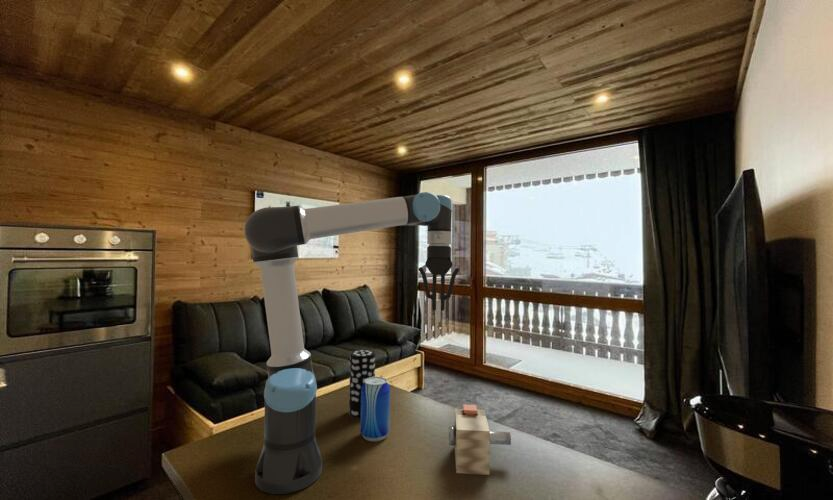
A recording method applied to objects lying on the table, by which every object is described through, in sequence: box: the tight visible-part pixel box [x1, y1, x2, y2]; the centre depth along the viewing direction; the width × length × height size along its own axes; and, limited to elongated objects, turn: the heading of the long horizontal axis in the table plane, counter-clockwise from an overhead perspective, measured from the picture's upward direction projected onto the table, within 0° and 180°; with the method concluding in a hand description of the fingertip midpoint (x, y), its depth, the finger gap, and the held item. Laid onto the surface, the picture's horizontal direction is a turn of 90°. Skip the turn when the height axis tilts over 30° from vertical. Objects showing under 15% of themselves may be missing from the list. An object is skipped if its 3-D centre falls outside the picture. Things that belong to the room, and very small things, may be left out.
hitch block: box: [453, 408, 491, 476], centre depth 93 cm, size 8×12×10 cm, turn 176°
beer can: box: [359, 376, 391, 442], centre depth 105 cm, size 8×8×16 cm
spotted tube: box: [348, 349, 376, 420], centre depth 119 cm, size 8×8×20 cm
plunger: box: [462, 403, 478, 416], centre depth 97 cm, size 4×4×8 cm
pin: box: [448, 425, 512, 447], centre depth 93 cm, size 16×5×5 cm, turn 86°
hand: (438, 320), depth 112 cm, fingers closed
